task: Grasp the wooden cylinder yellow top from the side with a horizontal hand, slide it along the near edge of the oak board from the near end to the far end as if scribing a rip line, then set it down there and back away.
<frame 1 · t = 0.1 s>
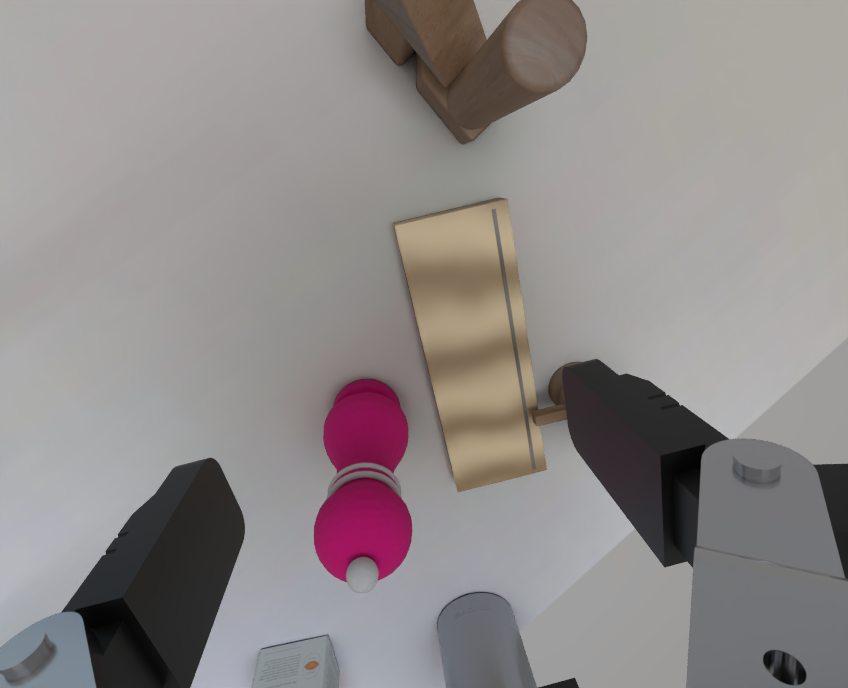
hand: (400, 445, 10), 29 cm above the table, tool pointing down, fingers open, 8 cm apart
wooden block: (432, 71, 34), on the table
small box: (301, 657, 53), on the table
wooden cylinder yellow top: (573, 385, 44), on the table
board: (473, 352, 42), on the table
pepper mill: (367, 407, 43), on the table
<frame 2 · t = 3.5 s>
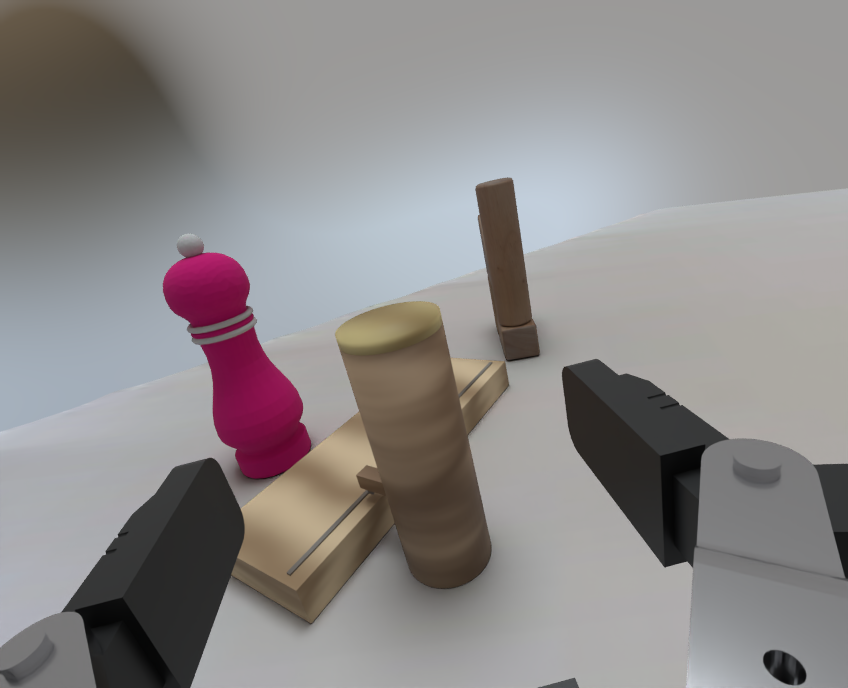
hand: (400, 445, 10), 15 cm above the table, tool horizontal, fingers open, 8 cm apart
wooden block: (516, 341, 52), on the table
wooden cylinder yellow top: (448, 550, 26), on the table
board: (391, 458, 36), on the table
pepper mill: (278, 458, 40), on the table
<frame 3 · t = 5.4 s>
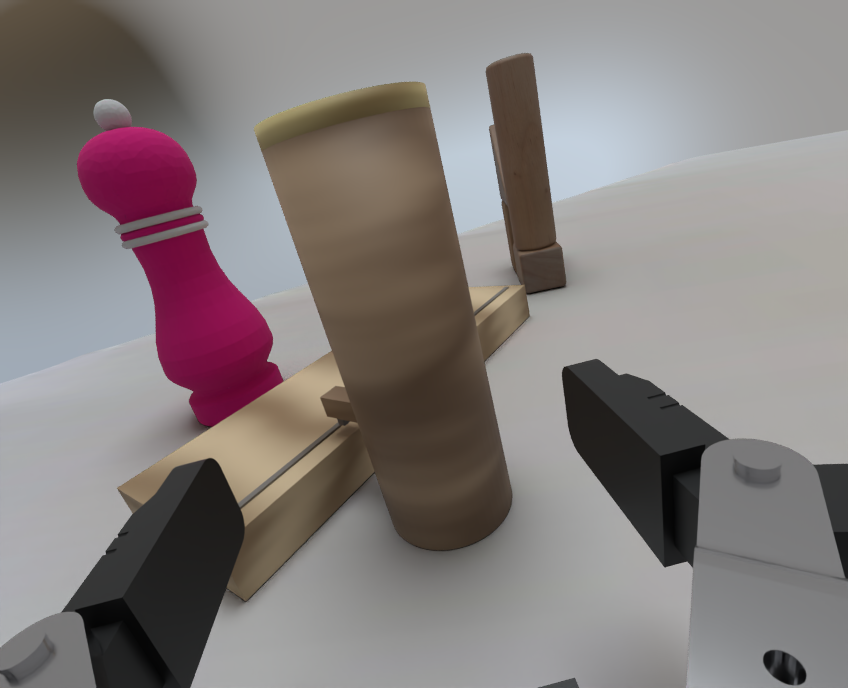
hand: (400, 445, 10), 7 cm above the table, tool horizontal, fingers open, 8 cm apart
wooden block: (536, 277, 44), on the table
wooden cylinder yellow top: (450, 499, 18), on the table
board: (380, 397, 28), on the table
pepper mill: (244, 404, 33), on the table
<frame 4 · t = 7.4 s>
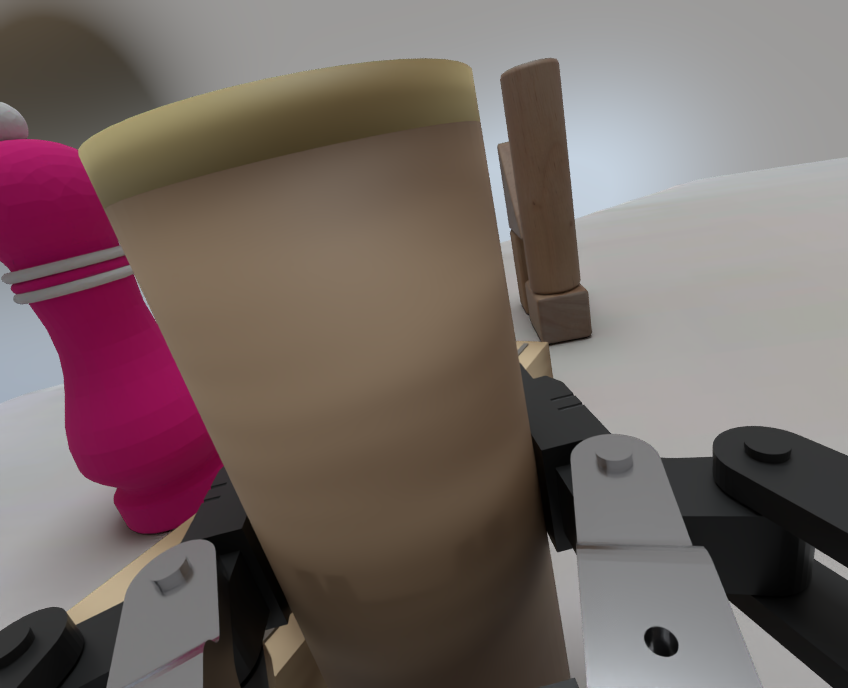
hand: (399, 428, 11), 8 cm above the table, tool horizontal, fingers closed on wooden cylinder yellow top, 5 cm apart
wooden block: (551, 320, 37), on the table
board: (367, 502, 21), on the table
pepper mill: (190, 495, 25), on the table
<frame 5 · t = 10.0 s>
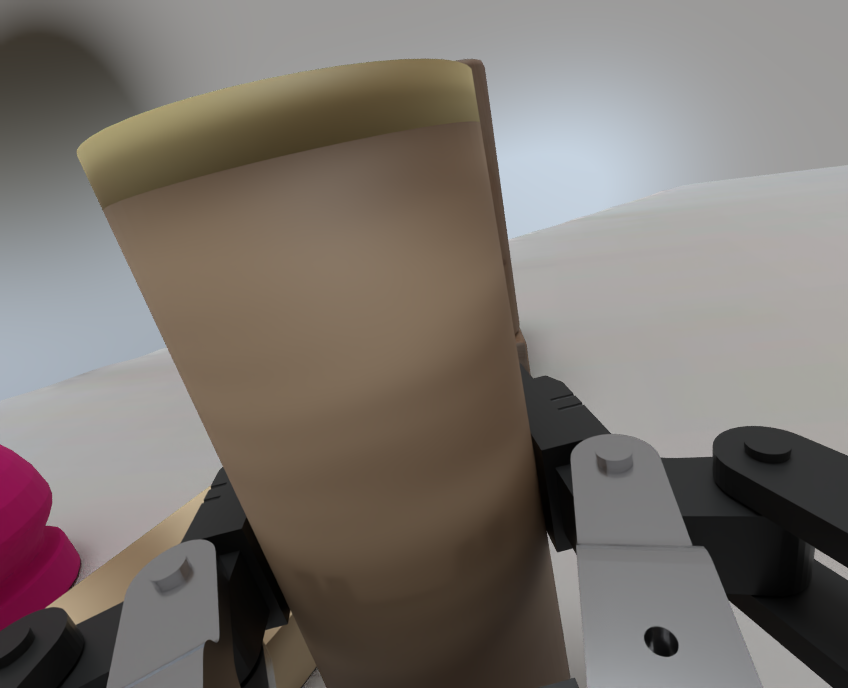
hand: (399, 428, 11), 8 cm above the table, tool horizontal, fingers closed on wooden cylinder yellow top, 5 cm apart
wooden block: (494, 365, 32), on the table
board: (191, 657, 16), on the table
pepper mill: (3, 611, 20), on the table
when the fingers open (8 cm above the table, at t = 12.6 s): wooden cylinder yellow top stays where it is, on the table.
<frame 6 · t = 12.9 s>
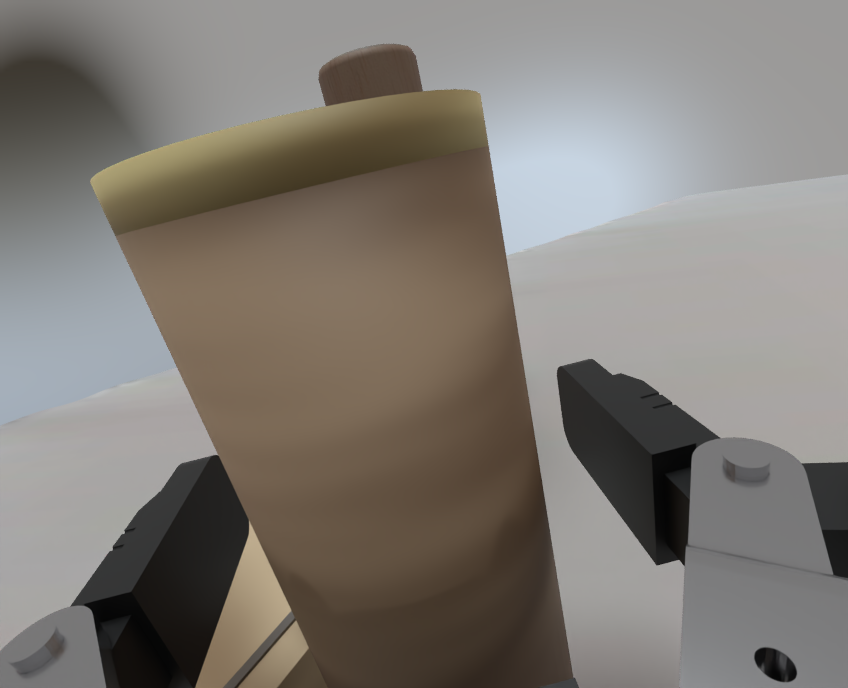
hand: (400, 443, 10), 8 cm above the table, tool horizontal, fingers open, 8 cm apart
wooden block: (460, 431, 26), on the table
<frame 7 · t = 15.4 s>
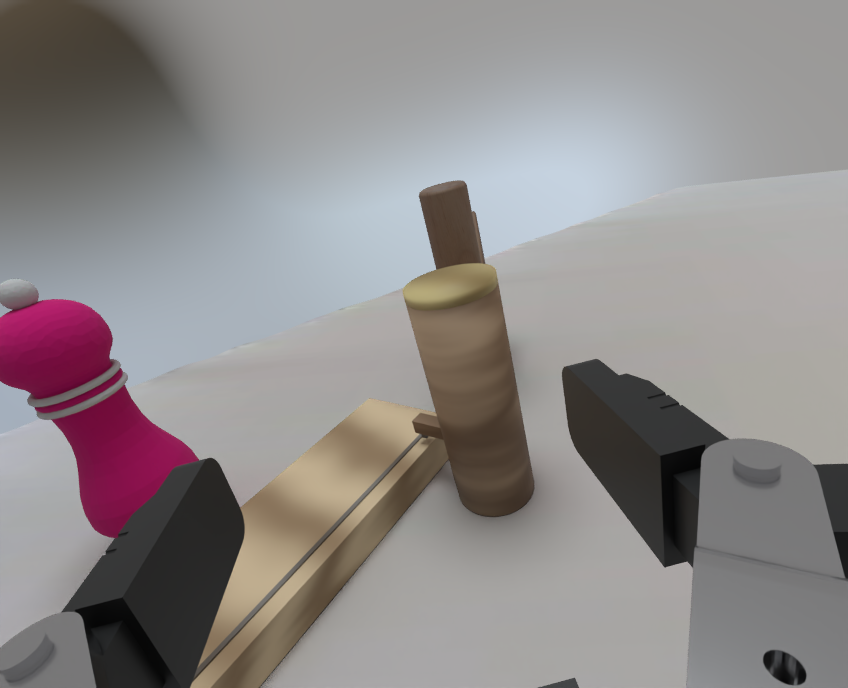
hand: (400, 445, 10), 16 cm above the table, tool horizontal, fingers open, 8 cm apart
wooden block: (485, 373, 43), on the table
wooden cylinder yellow top: (495, 486, 30), on the table
board: (297, 554, 28), on the table
pepper mill: (177, 533, 33), on the table
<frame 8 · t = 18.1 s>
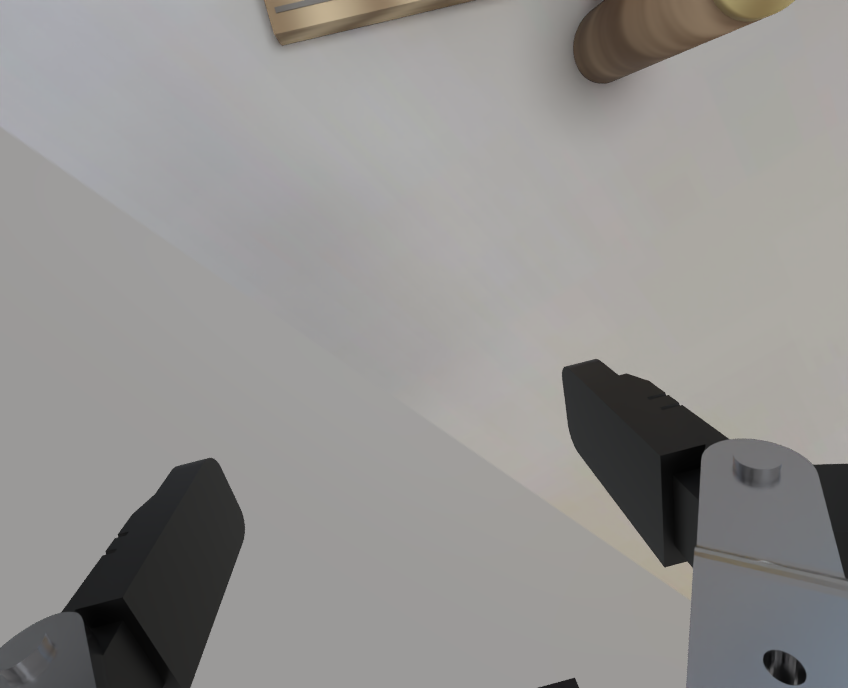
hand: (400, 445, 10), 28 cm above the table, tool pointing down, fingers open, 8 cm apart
wooden cylinder yellow top: (606, 44, 33), on the table
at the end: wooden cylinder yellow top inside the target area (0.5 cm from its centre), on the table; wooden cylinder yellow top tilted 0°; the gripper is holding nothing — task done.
